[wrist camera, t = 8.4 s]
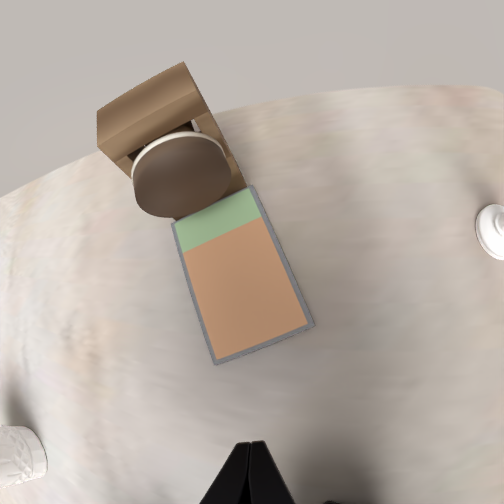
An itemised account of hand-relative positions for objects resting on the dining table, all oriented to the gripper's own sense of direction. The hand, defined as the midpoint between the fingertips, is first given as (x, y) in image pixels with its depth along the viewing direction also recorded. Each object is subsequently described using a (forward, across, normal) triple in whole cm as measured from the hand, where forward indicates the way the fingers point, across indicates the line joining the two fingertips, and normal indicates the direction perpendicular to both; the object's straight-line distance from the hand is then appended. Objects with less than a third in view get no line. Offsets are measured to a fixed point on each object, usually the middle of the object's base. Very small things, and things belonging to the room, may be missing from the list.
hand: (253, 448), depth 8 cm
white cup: (+9, +30, +17) cm, 36 cm away
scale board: (+17, +2, +1) cm, 17 cm away
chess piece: (+14, -21, +1) cm, 26 cm away
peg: (+19, +4, -8) cm, 21 cm away
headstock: (+23, +4, -6) cm, 24 cm away
